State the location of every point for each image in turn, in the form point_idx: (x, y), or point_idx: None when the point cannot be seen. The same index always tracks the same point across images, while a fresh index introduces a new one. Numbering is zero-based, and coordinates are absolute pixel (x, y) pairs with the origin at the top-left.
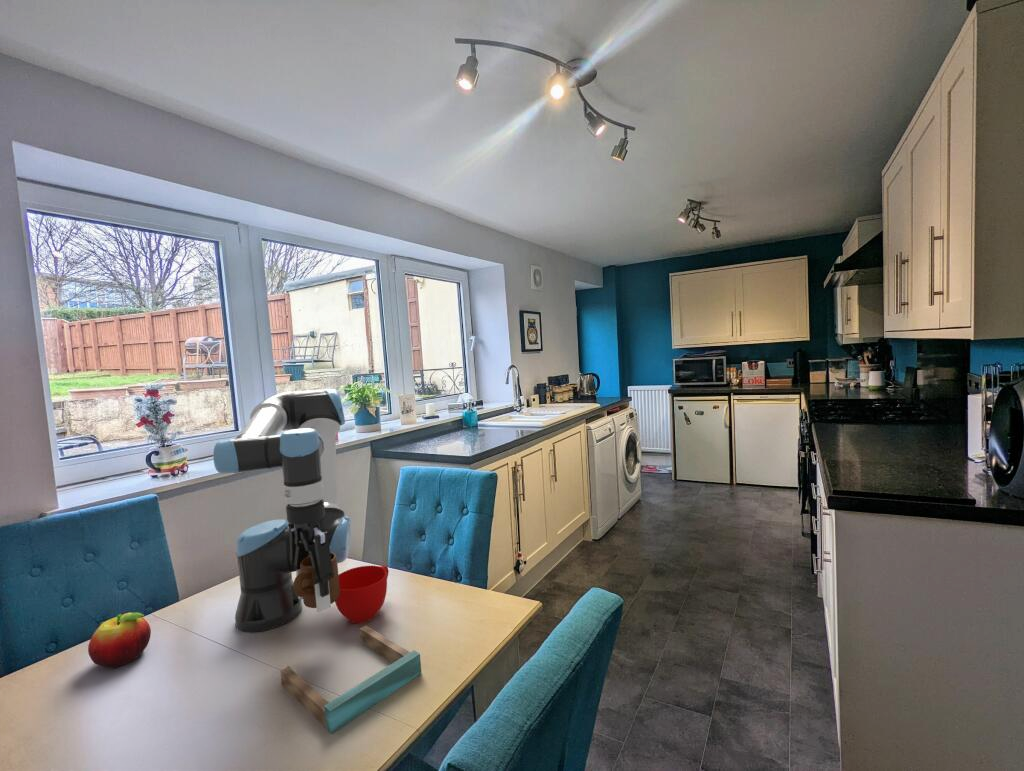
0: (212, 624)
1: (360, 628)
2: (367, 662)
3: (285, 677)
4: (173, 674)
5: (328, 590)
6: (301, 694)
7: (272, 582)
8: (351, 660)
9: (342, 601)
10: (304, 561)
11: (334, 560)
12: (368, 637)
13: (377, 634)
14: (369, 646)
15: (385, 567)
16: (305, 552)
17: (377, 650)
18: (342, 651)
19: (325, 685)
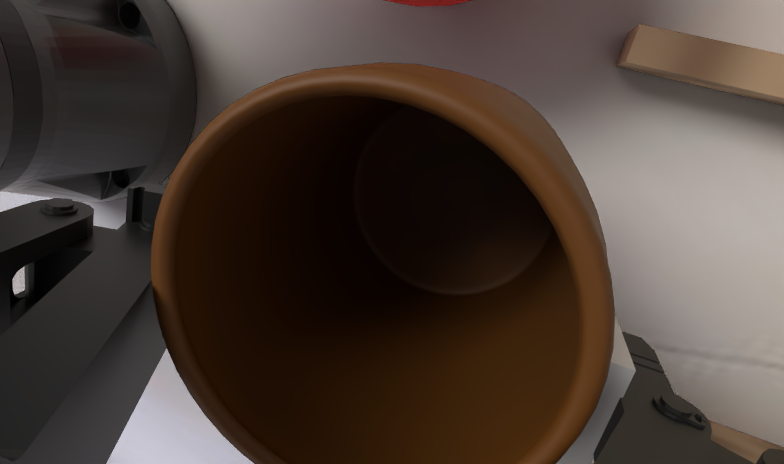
0: (7, 198)
1: (627, 60)
2: (762, 178)
3: None
4: (164, 399)
5: (657, 364)
6: None
7: (1, 124)
8: (670, 191)
9: (442, 3)
10: (200, 343)
11: (600, 244)
12: (704, 82)
13: (778, 66)
14: (692, 83)
15: None
16: (114, 374)
17: (772, 102)
18: (579, 156)
19: (670, 337)
